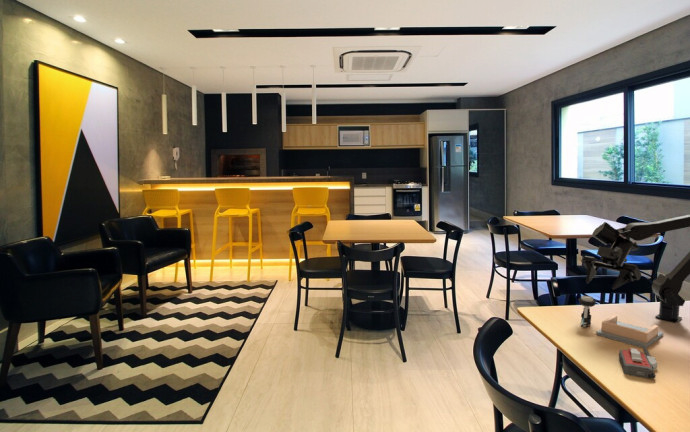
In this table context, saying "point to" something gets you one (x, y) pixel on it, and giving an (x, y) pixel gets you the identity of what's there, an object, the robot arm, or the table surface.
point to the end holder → (629, 332)
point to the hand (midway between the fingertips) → (599, 285)
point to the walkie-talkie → (638, 363)
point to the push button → (586, 309)
